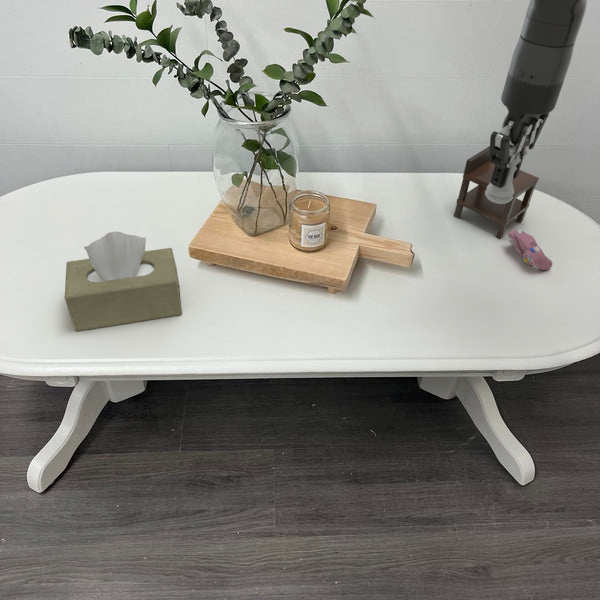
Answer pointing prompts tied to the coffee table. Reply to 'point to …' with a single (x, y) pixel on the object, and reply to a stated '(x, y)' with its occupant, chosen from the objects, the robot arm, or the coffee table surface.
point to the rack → (476, 199)
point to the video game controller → (529, 249)
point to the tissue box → (121, 283)
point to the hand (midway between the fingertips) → (503, 180)
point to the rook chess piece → (507, 191)
